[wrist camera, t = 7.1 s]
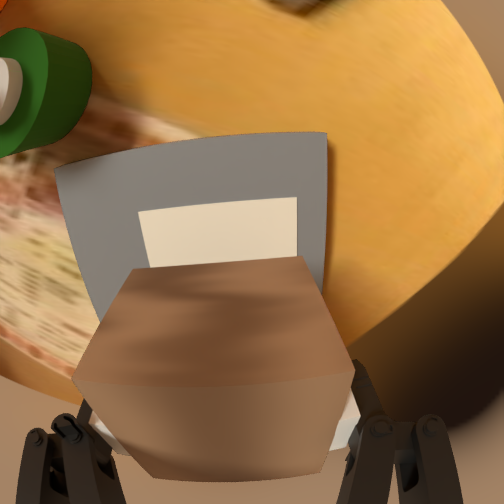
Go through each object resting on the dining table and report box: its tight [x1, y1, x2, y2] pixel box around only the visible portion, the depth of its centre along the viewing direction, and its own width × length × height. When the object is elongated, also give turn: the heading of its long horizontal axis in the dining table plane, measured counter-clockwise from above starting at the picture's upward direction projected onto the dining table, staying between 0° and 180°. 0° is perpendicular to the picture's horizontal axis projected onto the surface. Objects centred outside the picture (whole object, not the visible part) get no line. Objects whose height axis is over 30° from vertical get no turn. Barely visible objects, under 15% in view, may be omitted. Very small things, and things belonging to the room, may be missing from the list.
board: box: [54, 132, 327, 323], centre depth 19 cm, size 18×14×2 cm
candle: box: [0, 27, 92, 158], centre depth 9 cm, size 8×8×10 cm
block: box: [71, 256, 355, 482], centre depth 11 cm, size 8×8×7 cm
